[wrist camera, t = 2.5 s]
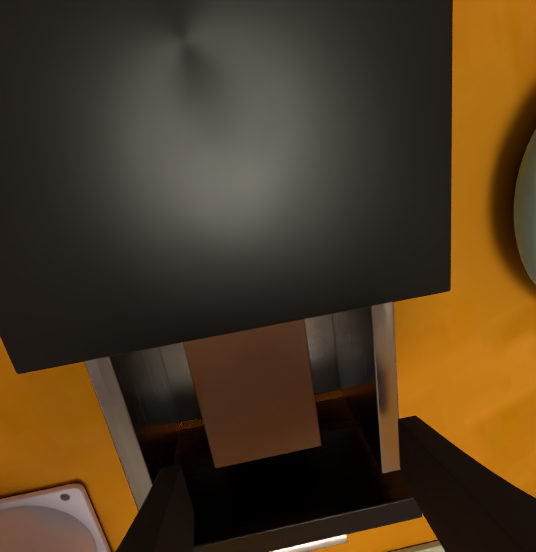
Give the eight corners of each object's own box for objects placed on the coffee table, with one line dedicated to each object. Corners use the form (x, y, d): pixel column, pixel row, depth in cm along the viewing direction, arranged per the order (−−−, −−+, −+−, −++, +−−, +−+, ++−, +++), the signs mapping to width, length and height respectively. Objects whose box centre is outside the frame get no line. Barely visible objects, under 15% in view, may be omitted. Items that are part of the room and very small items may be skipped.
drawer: (368, 465, 23) (424, 586, 17) (182, 506, 22) (167, 648, 16) (343, 168, 17) (415, 179, 11) (91, 211, 17) (10, 249, 10)
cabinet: (354, 232, 19) (451, 291, 11) (106, 277, 19) (15, 375, 10) (325, -138, 14) (458, -503, 6) (-12, -98, 14) (-348, -454, 6)
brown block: (216, 406, 19) (214, 469, 15) (190, 299, 17) (181, 340, 14) (302, 389, 20) (322, 446, 16) (286, 281, 18) (304, 317, 14)
